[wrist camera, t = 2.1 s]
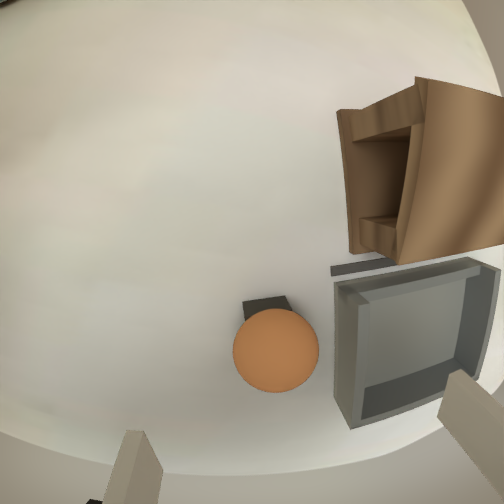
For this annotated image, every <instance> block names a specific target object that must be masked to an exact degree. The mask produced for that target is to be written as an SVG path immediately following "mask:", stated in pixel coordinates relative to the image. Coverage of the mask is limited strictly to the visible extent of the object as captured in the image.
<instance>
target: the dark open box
mask: <svg viewBox="0 0 504 504" xmlns="http://www.w3.org/2000/svg"><path fill="white" fill-rule="evenodd" d="M268 309H285V310H289V311H292V309H291V307H290V305H289V303H288V301H287V299H286V297H285V296H279V297H273V298H266V299H259V300H252V301H244V302H243V310H244V317H245V321H246V320H247V319H249V318H250V317H251V316H253V315H254V314H256V313H258V312H261V311H264V310H268Z"/></svg>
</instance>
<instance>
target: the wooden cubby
mask: <svg viewBox="0 0 504 504" xmlns="http://www.w3.org/2000/svg"><path fill="white" fill-rule="evenodd" d="M336 113H337V120H338V127H339V134H340V142H341V150H342V159H343V168H344V178H345V189H346V201H347V215H348V232H349V252H350V253H352V254H361V253H367V252H374V251H376V252H378V253H380V254H382V255H384V256H386V257H388V258H390V259H392V260H394V261H395V262H396V264H397V265H403V264H409V263H414V262H419V261H425V260H430V259H435V258H440V257H445V256H450V255H455V254H460V253H465V252H469V251H474V250H479V249H483V248H488V247H493V246H497V245H502V244H504V98H503V97H500V96H497V95H494V94H490V93H487V92H483V91H480V90H476V89H472V88H469V87H465V86H460V85H456V84H452V83H447V82H443V81H438V80H433V79H427V78H422V77H416V76H415V85H413V86H411V87H409V88H407V89H404V90H402V91H400V92H398V93H395V94H393V95H391V96H389V97H387V98H385V99H383V100H380V101H378V102H376V103H374V104H372V105H370V106H368V107H366V108H364V109H362V110H358V109H340V110H338V111H337V112H336Z"/></svg>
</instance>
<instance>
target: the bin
mask: <svg viewBox="0 0 504 504" xmlns="http://www.w3.org/2000/svg"><path fill="white" fill-rule="evenodd" d="M500 276H501V269H498V268H496V267H493V266H491V265H488V264H486V263H483V262H480V261H478V260H475V259H472V258H470V257H464V258H460V259H455V260H450V261H446V262H441V263H436V264H431V265H426V266H421V267H416V268H411V269H406V270H401V271H396V272H390V273H385V274H380V275H374V276H369V277H363V278H358V279H352V280H346V281H340V282H334V303H335V370H334V398H335V400H336V402H337V404H338V406H339V408H340V410H341V412H342V414H343V416H344V418H345V420H346V422H347V424H348V426H349V428H350V430H351V429H354V428H358V427H361V426H365V425H368V424H371V423H374V422H377V421H381V420H384V419H387V418H389V417H392V416H395V415H398V414H401V413H404V412H406V411H409V410H412V409H414V408H417V407H419V406H422V405H424V404H427V403H429V402H431V401H434V400H436V399H438V398H441V397H443V395H444V392H445V388H446V385H447V381H448V377H449V374H450V373H453V372H455V371H457V370H460V369H462V370H463V371H464V372H465V373H467V374H468V375H469V376H470V377H471V378H472V379H473V380H474V381H476V380H478V378H479V375H480V372H481V368H482V365H483V361H484V358H485V354H486V350H487V346H488V342H489V338H490V334H491V329H492V325H493V320H494V314H495V309H496V303H497V297H498V291H499V284H500Z"/></svg>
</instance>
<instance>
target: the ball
mask: <svg viewBox="0 0 504 504" xmlns="http://www.w3.org/2000/svg"><path fill="white" fill-rule="evenodd" d="M318 356H319V344H318V340H317V336H316V334H315V332H314V330H313V328H312V327H311V325H310V324H309V323H308V322H307V321H306V320H305V319H304V318H303V317H301V316H300V315H298V314H297V313H294V312H292V311H289V310H285V309H268V310H264V311H261V312H258V313H256V314H254V315H253V316H251V317H250V318H249V319H247V320H246V321H245V322H244V323H243V325H242V326H241V327H240V329H239V330H238V332H237V334H236V337H235V340H234V344H233V358H234V363H235V366H236V368H237V370H238V372H239V373H240V375H241V376H242V377H243V379H244V380H245V381H246V382H247V383H249V384H250V385H252V386H253V387H255V388H257V389H259V390H262V391H265V392H272V393H279V392H285V391H289V390H292V389H294V388H296V387H298V386H300V385H301V384H302V383H304V382H305V381H306V380H307V379H308V378H309V376H310V375H311V374H312V372H313V371H314V369H315V366H316V364H317V361H318Z"/></svg>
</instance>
